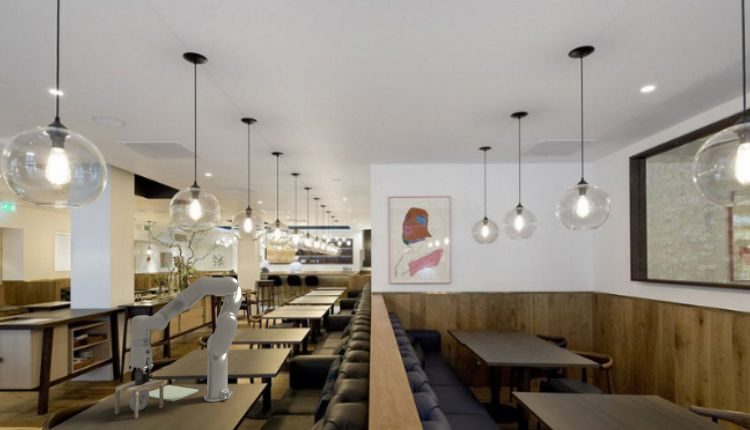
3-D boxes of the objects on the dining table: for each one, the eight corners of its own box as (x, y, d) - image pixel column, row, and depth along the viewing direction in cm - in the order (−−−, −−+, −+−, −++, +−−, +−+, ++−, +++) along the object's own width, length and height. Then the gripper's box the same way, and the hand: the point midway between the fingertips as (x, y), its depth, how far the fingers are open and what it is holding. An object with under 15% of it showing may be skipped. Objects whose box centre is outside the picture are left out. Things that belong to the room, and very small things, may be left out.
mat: (198, 391, 222) (198, 389, 222) (172, 401, 208) (172, 399, 208) (168, 386, 231) (168, 385, 231) (141, 396, 217) (141, 394, 217)
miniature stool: (163, 407, 200) (163, 368, 202) (135, 418, 188) (136, 376, 189) (142, 403, 206) (143, 365, 207) (114, 413, 193) (115, 373, 195)
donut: (133, 415, 192) (133, 392, 192) (127, 414, 193) (127, 391, 193) (151, 407, 201) (151, 385, 202) (145, 406, 202) (145, 384, 203)
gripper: (160, 342, 199) (160, 380, 198) (135, 339, 206) (134, 377, 205) (146, 345, 192) (145, 385, 191) (120, 342, 199) (119, 381, 198)
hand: (140, 381), depth 198 cm, fingers open, 7 cm apart
